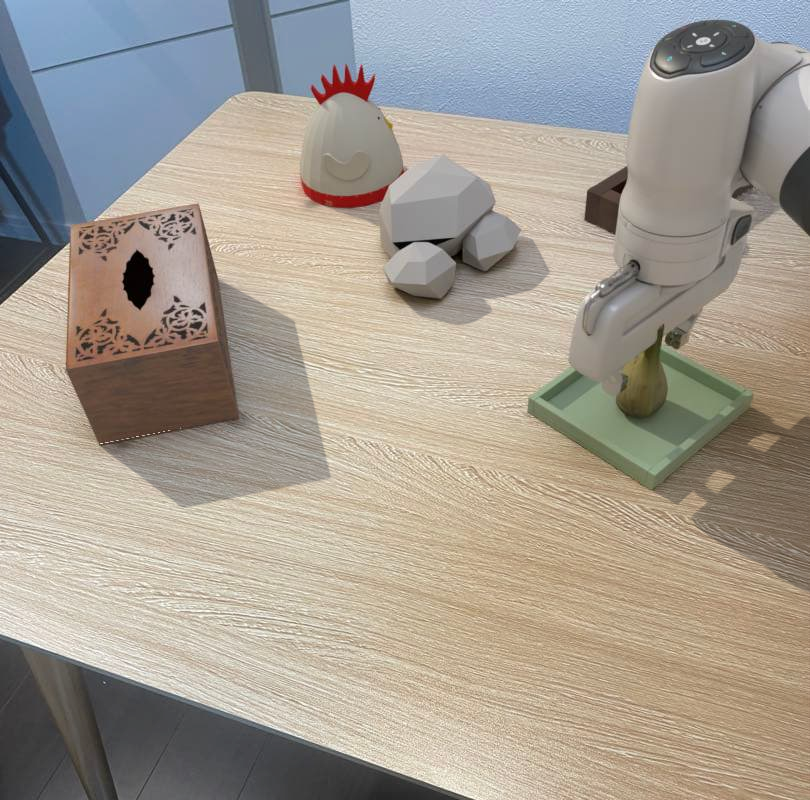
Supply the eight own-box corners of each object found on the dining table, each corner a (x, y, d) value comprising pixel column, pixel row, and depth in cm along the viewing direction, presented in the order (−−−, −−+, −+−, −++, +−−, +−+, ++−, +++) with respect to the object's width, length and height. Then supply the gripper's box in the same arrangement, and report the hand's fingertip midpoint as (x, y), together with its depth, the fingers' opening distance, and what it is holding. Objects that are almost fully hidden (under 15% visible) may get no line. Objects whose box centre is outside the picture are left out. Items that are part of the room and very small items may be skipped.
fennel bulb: (625, 382, 94) (640, 282, 85) (671, 394, 92) (693, 294, 83) (605, 417, 91) (620, 318, 82) (654, 431, 89) (674, 331, 80)
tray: (749, 407, 91) (754, 392, 90) (651, 490, 85) (655, 475, 83) (625, 340, 99) (627, 325, 97) (527, 411, 93) (528, 396, 91)
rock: (543, 243, 112) (547, 168, 104) (434, 324, 103) (430, 248, 96) (432, 196, 120) (429, 123, 113) (322, 266, 111) (311, 193, 104)
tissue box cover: (239, 418, 95) (217, 341, 87) (99, 445, 94) (65, 369, 86) (218, 278, 111) (198, 203, 104) (99, 300, 110) (70, 225, 102)
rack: (753, 186, 117) (760, 156, 114) (655, 253, 109) (660, 223, 106) (682, 158, 122) (687, 128, 119) (583, 219, 114) (586, 189, 111)
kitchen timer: (402, 205, 119) (394, 88, 108) (298, 210, 120) (279, 95, 108) (404, 151, 128) (396, 38, 116) (306, 156, 129) (289, 44, 117)
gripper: (618, 309, 71) (600, 437, 82) (769, 203, 79) (735, 332, 90) (557, 277, 75) (547, 404, 85) (708, 178, 83) (682, 306, 93)
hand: (645, 366), depth 88 cm, fingers open, 8 cm apart
